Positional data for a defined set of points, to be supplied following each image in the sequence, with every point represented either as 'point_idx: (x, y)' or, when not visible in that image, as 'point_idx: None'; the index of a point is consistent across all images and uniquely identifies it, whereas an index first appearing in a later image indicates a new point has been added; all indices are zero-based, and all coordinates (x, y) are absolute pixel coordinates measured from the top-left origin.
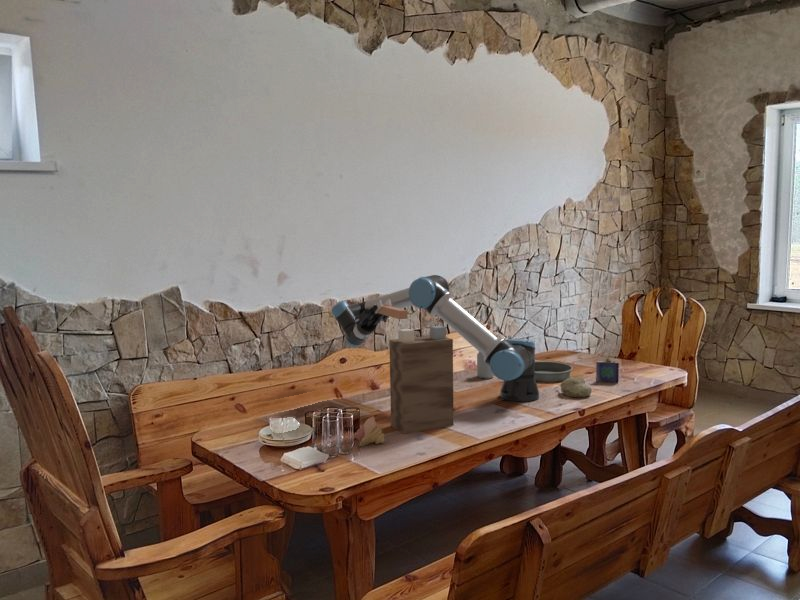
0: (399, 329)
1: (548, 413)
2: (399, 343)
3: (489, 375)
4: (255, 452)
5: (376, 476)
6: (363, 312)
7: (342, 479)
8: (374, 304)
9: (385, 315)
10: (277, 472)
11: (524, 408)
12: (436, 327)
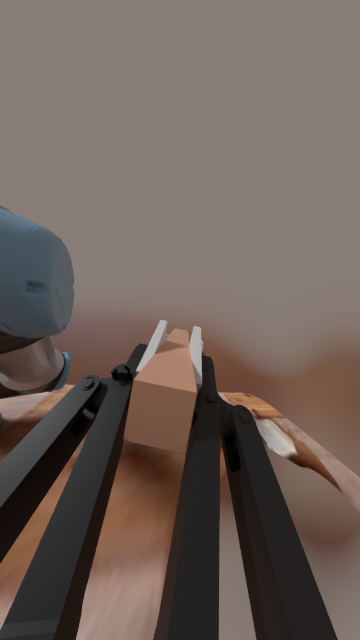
0: (202, 343)
1: (60, 390)
2: (203, 352)
3: None
4: (333, 473)
5: (224, 392)
6: (269, 475)
7: (240, 397)
8: (193, 375)
9: (37, 495)
10: (282, 422)
11: (43, 408)
12: (166, 334)
